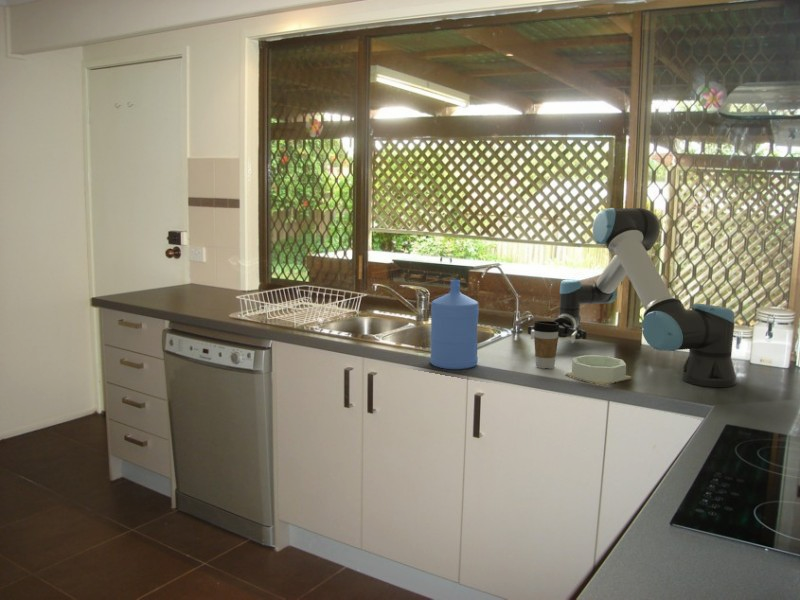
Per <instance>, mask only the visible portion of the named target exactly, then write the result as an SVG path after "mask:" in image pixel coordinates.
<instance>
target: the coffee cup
mask: <svg viewBox="0 0 800 600" xmlns="http://www.w3.org/2000/svg"><path fill="white" fill-rule="evenodd" d="M553 321H554V320H553ZM553 321H552V320H551V321H550V320H535V321H534V325H533V326H534V327H533V330H535V336H534V339H533V340H534V358H535V367H536V366H537V367H539V368H538V369H541V368H552V369H554V368H555V364H556V363H555V362H556V357H557V348H558V342H559V337H558V331H560V328H559V323H557V322H553ZM537 367H536V368H537Z"/></svg>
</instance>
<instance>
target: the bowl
mask: <svg viewBox="0 0 800 600" xmlns="http://www.w3.org/2000/svg"><path fill="white" fill-rule="evenodd" d="M626 374H627V364H626V362H625V361H624V360H623V359H621V358H616V357H612V356H608V355H595V354H594V355H593V354H585V355H579V356H575V357H572V364H571V372H567V373H565V375H568V376H571V377H570V378H572V377H574V378H573V379H575V378H578V379H577V380H579V379H581V380H580V381H583V380H584V382H586V381H588V382H587V383H590V382H591V383H590V384H593V383H595V384H594V385H597V384H598V385H597V386H600V387H604V386H608V385H612V384H616V383H620V382H624V381H627V380H632V376H630V375H626ZM568 376H567V377H568ZM619 381H620V382H619ZM615 382H616V383H615ZM611 383H612V384H611ZM607 384H608V385H607Z"/></svg>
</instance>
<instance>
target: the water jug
mask: <svg viewBox="0 0 800 600" xmlns="http://www.w3.org/2000/svg"><path fill="white" fill-rule="evenodd" d="M460 282H461V280H460V279H450V286H449V287H450V290H449V292H448V293H446V294H444V295H442V296H440V297H437V298H436V299H434V300H432V301H431V303H430V304H431V306H430V316H431V317H430V319H431V320H430V322H431V323H430V327H431V328H430V358H429V359H430V360H429V361H430V363H431V365H432V366H434V367H437V368H440V369H445V370H466V369H467V370H468V369H470V368H473V367H476V366H477V365H478V363H479V362H478V361H479V358H478V357H479V356H478V325H479V313H480V312H479V311H480V307H479V301H477V300H476V299H473V298H471V297H469V296H468V295H465V294H463V293H462V292H461V291H460V289H461V283H460Z"/></svg>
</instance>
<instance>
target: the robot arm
mask: <svg viewBox="0 0 800 600" xmlns="http://www.w3.org/2000/svg"><path fill="white" fill-rule="evenodd" d="M660 231H661V226H660V221H659V219H658V217H657V216H656V215H655V214H654V213H653V212H652V211H650V210H649V209H647V208H642V207H637V208H635V207H634V208H633V207H632V208H631V207H630V208H628V207H626V208H622V207H621V208H620V207H619V208H618V207H617V208H616V207H615V208H614V207H610V208H603V209H601V210H599V211H598V213H597V214H596V215H595V218H594V220H593V223H592V236H593V240H594V242H595V243H597V244H599V245H605V246H606V248H607V250H608V251H609V254H611V255H613V257H612V259H610V261H609V262H608V264H607V266H606V267H605V269H604V270H603V271H602V273H601V274H600V275H599V276H598V278H597V279H596V281H595V282H594V283H591V284H590V283H589V284H587V283H586V284H582V282H581V280H579V279H572V278H571V279H563V280H561V281H560V285H559V308H558V316H557V317H556V318H555V319H554V320H553V322H557V323H559V328H560V331H558V338H567V337H570V338H571V339H570V342H571V344H574V343H575V342H576V341H577V340H581V339H582V340H586V339H587V331H586V330H584V329H583V328H581V326H580V324H581V321H582V320H581V319H582V318H581V315H580V311H581V309H580V308H581V305H595V304H596V305H597V304H598V305H599V304H600V305H601V304H603V305H605V304H610V303H613V302H615V300H616V299H617V296H618V291H617V288H618V287H619V285H620V284H621V283H622V282H623V280H624V279H625V278H626V277H628V279H629V281H630V284H631V286H632V287H633V288H634V291H635V293H636V294H637V296H638V298H639V300H640V302H641V304H642V306H643V308H644V312H643V319H642V322H641V328H642V330H641V331H642V335H643V337H644V340H645V341H646V343H647V344H648V345H649V346H650V347H651V348H653V349H654V350H657V351H660V352H661V351H667V352H674V351H677V350H678V351H680V350H681V351H683V350H688V355H687V358H686V360H685V362H684V365H683V367H682V369H681V374H680V375H681V376H680V379H681V380H682V381H684V382H686V383H689V384H692V385H697V386H701V387H709V388H729V387H733V386H735V385H736V382H737V374H736V371H735V368H734V364H733V360H732V351H733V340H734V332H735V331H734V330H735V324H736V323H735V312H734V311H733V310H732V309H731V308H729V307H728V308H727V307H723V306H718V305H711V304H705V303H694V304H692V306H691V309H686V307H685V306H684V304H683V302H682V301H681V300H680V299H679V298H678V297H677V298H676V297H673V296H672V294H671V293H670V290H669V289H668V287H667V285H666V283H665V281H664V279H663V277H662V276H661V275H660V273H659V270H658V269H657V268H656V265H655V264H654V262H653V260H652V259H651V257H650V255H649V253H648V251H650V250H651V249H652V248H653V247H654V245H655V244H656V243H657V240H658V239H659V237H660ZM533 327H534V325H528V326H527V334H528V335H529V336H530V340H534V336H535V330H533Z"/></svg>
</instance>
